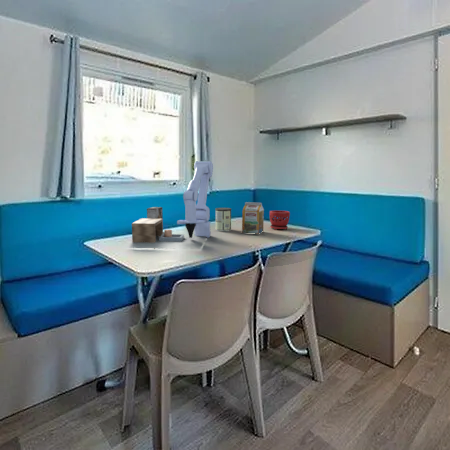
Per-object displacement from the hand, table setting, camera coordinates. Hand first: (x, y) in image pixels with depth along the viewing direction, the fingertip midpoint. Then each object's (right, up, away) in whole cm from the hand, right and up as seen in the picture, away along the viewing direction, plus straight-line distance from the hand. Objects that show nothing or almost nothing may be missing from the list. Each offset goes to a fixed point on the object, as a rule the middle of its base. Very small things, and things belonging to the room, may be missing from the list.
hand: (190, 237), depth 186 cm
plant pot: (+55, +4, +42) cm, 69 cm away
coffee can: (+18, +3, +36) cm, 40 cm away
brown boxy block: (-23, -2, +2) cm, 24 cm away
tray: (-10, -2, +1) cm, 11 cm away
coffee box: (-23, +1, +20) cm, 31 cm away
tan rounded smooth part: (-12, -1, +1) cm, 13 cm away
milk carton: (+36, +2, +27) cm, 45 cm away
